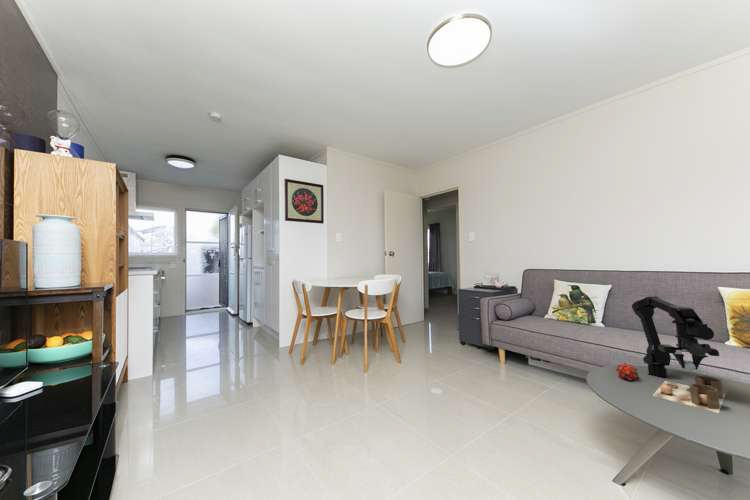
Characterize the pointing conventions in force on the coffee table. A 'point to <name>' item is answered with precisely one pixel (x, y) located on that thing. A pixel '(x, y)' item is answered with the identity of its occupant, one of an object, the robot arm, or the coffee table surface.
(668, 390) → the terracotta ball
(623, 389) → the coffee table surface
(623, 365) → the dragon fruit
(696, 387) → the cream wooden tray
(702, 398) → the terracotta ball in tube
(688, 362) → the slate-blue ball
